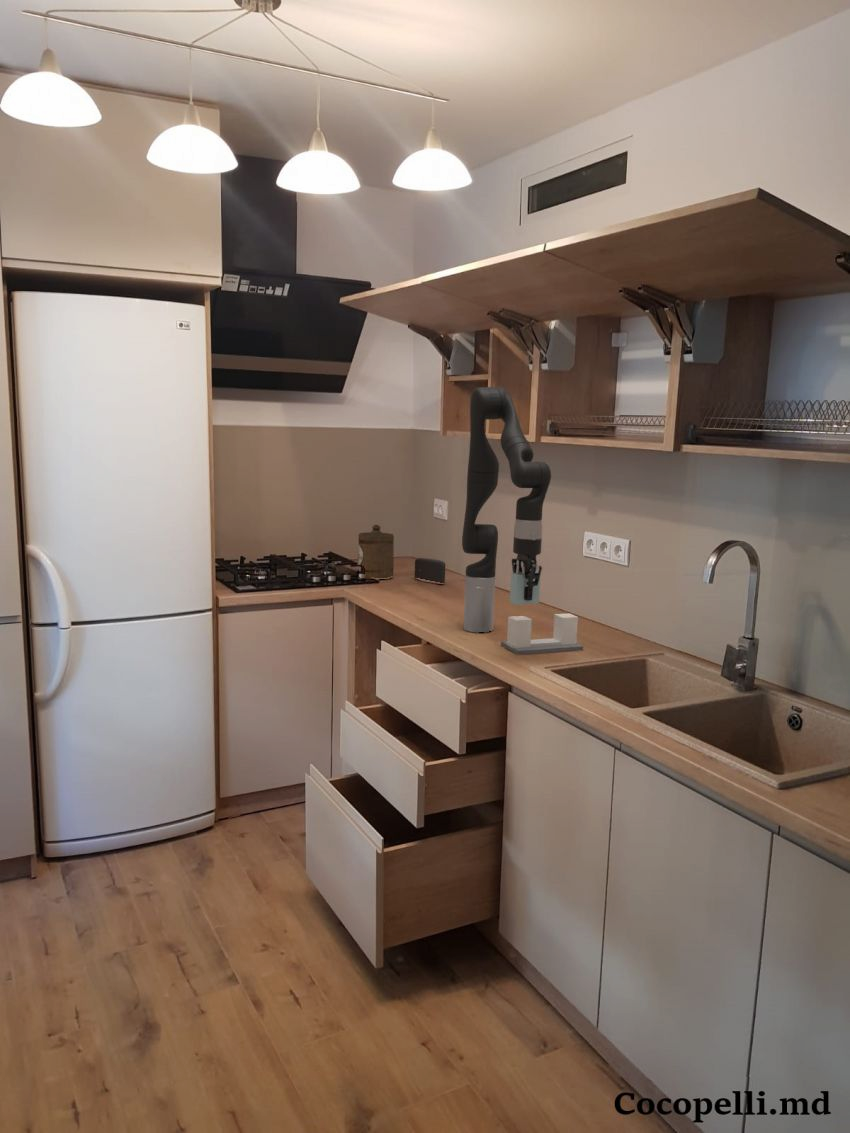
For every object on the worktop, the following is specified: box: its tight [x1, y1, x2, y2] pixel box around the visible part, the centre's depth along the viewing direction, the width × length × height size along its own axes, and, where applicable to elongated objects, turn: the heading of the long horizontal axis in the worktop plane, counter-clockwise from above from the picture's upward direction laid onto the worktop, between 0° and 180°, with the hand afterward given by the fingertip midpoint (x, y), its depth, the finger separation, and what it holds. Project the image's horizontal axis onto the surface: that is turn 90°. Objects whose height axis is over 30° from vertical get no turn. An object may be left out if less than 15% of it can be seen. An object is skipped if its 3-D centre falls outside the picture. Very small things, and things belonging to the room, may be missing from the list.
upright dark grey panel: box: [414, 557, 446, 583], centre depth 344 cm, size 16×5×9 cm, turn 47°
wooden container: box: [357, 524, 395, 578], centre depth 351 cm, size 15×15×22 cm
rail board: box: [500, 612, 584, 656], centre depth 245 cm, size 11×21×9 cm, turn 111°
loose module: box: [509, 572, 541, 606], centre depth 230 cm, size 4×7×8 cm, turn 110°
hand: (524, 598), depth 230 cm, fingers closed on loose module, 3 cm apart
